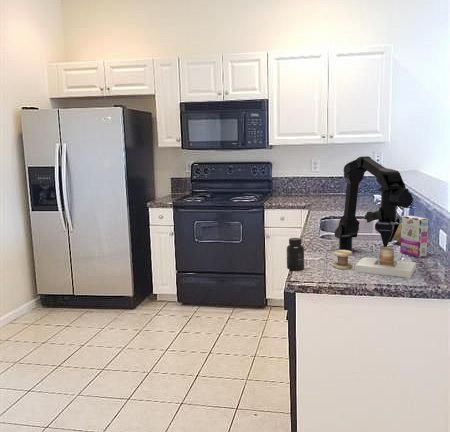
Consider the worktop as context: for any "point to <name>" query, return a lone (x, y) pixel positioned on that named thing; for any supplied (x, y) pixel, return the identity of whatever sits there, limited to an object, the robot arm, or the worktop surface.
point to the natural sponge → (398, 234)
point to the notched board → (385, 268)
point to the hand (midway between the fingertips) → (387, 244)
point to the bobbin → (342, 259)
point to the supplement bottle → (295, 254)
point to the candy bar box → (414, 236)
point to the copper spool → (386, 256)
